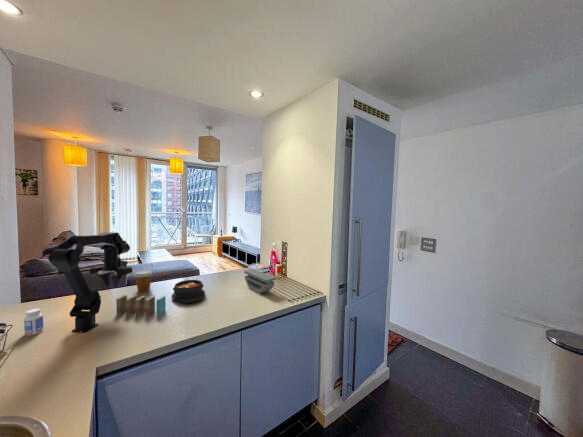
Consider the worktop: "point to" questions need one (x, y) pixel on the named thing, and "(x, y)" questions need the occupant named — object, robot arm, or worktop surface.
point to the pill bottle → (33, 322)
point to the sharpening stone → (259, 281)
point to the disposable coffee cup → (143, 280)
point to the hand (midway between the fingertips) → (111, 286)
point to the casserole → (188, 291)
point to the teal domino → (160, 305)
